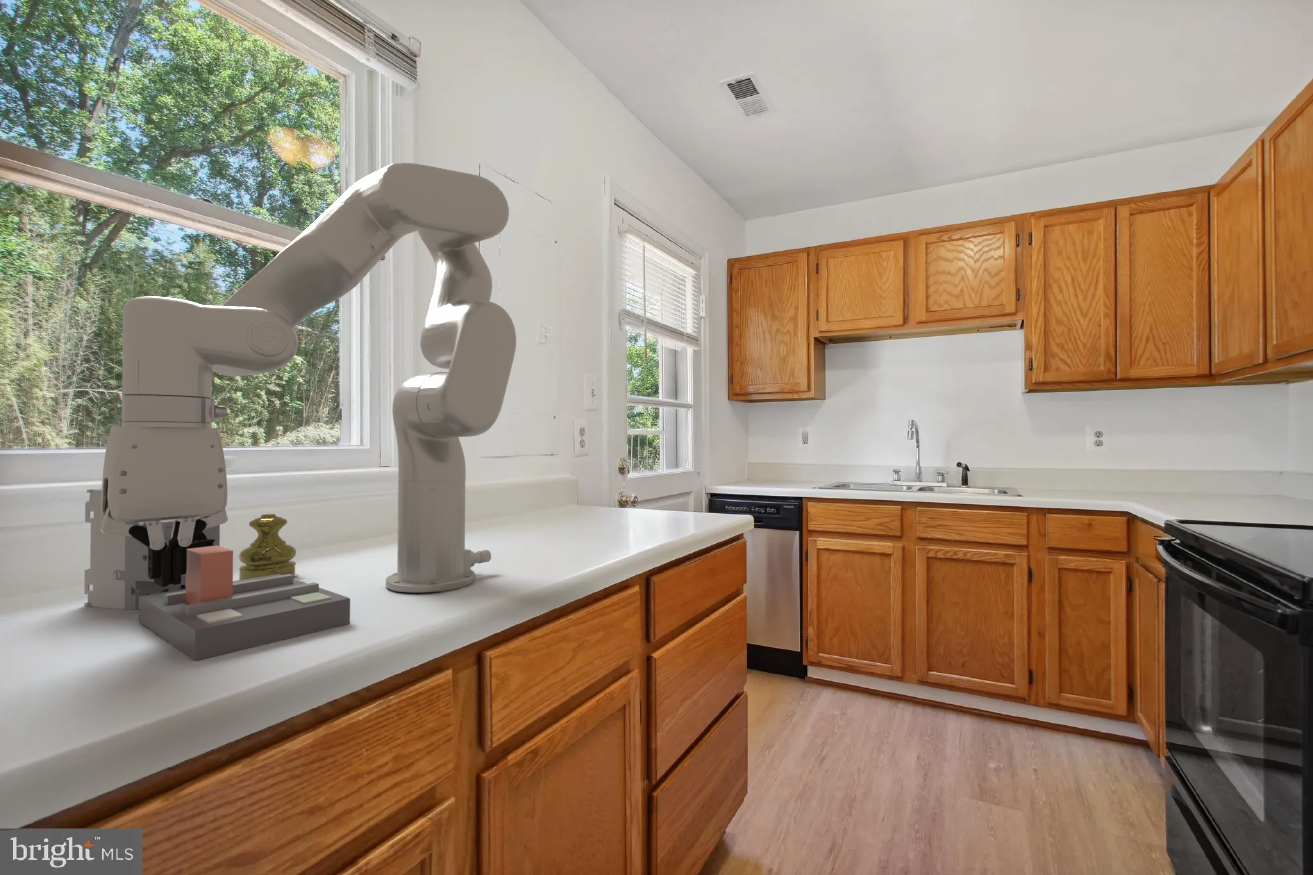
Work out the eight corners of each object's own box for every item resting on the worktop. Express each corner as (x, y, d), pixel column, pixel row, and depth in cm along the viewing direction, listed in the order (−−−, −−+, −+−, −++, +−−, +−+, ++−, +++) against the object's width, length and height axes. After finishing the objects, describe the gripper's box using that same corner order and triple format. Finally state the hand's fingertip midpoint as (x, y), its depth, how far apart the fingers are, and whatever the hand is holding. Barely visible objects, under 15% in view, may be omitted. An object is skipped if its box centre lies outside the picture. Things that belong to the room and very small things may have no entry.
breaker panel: (279, 595, 82) (279, 566, 82) (349, 623, 70) (350, 589, 70) (138, 621, 70) (138, 587, 70) (194, 660, 58) (195, 619, 58)
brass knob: (300, 572, 97) (301, 510, 97) (288, 583, 90) (289, 516, 90) (247, 575, 94) (248, 512, 94) (231, 586, 87) (231, 518, 87)
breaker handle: (216, 596, 70) (217, 545, 70) (232, 603, 67) (233, 550, 67) (185, 601, 68) (186, 549, 68) (200, 609, 65) (200, 554, 65)
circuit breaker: (174, 613, 74) (176, 492, 74) (84, 605, 77) (85, 489, 77) (229, 597, 81) (230, 487, 81) (144, 591, 84) (145, 485, 84)
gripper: (235, 417, 73) (234, 567, 73) (65, 412, 61) (64, 592, 61) (260, 416, 68) (259, 576, 68) (81, 411, 56) (80, 605, 56)
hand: (167, 583), depth 65 cm, fingers closed
